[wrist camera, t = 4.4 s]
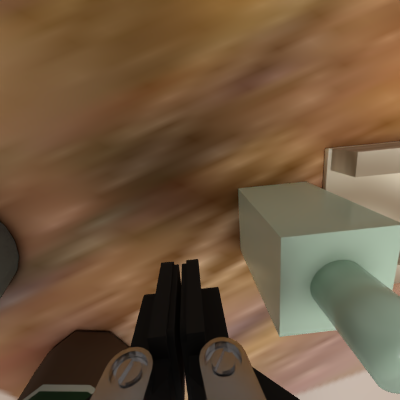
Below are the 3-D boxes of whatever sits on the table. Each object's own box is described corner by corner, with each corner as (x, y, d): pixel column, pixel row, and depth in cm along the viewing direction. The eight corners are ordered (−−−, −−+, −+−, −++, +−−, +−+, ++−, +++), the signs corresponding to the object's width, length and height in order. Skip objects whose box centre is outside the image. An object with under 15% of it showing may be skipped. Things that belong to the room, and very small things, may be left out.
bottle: (237, 188, 17) (335, 300, 6) (305, 181, 17) (527, 278, 6) (240, 249, 18) (322, 432, 7) (302, 243, 18) (476, 412, 7)
